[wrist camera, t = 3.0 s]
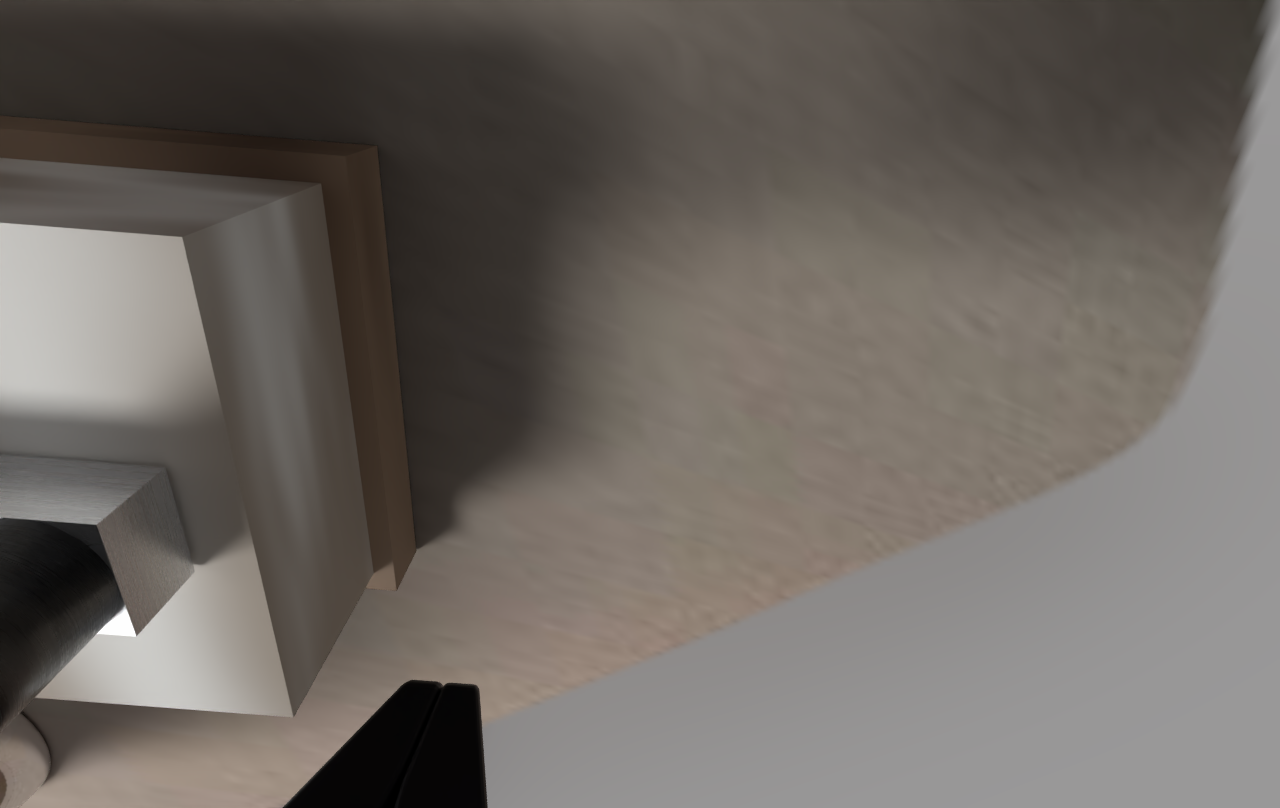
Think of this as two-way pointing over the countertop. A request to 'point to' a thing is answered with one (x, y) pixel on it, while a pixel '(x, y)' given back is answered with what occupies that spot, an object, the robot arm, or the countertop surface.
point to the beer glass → (21, 762)
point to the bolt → (79, 563)
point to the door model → (212, 386)
